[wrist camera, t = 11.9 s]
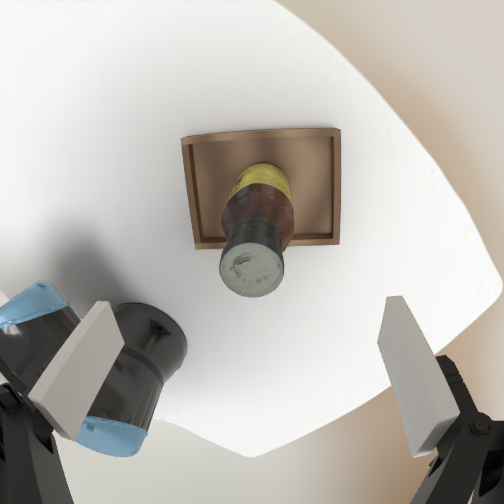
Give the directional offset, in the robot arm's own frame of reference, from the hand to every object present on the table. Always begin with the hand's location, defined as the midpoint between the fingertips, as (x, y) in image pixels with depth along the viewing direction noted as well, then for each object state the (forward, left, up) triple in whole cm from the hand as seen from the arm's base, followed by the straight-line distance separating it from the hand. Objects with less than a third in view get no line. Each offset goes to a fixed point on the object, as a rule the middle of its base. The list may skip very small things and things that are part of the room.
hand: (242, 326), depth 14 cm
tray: (0, 0, -27) cm, 27 cm away
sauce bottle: (0, 0, -26) cm, 26 cm away
